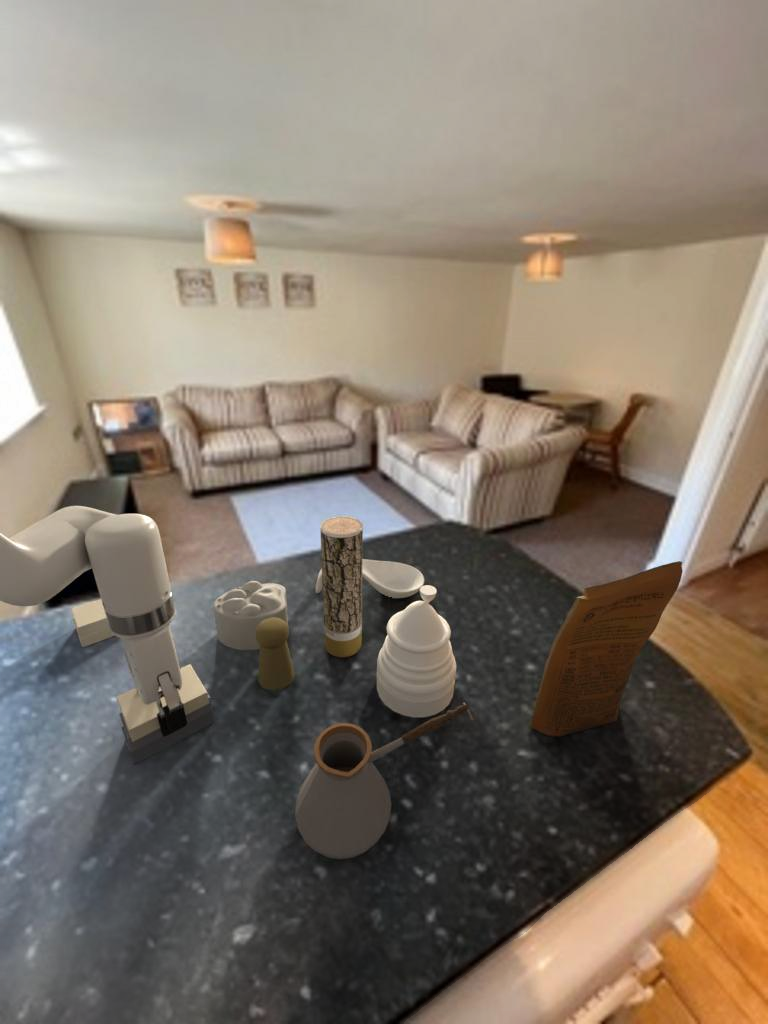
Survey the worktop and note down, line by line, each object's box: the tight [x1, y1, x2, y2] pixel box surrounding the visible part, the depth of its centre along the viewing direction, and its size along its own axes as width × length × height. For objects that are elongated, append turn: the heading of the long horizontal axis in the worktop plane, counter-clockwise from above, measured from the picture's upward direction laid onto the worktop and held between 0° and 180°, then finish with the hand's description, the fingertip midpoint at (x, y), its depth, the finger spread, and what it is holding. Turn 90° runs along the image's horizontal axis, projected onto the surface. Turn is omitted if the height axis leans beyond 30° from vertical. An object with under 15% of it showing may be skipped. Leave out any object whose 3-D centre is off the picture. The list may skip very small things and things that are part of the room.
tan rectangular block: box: [70, 598, 115, 648], centre depth 85 cm, size 10×7×4 cm
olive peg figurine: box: [255, 618, 296, 691], centre depth 73 cm, size 6×6×11 cm
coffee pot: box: [294, 702, 474, 860], centre depth 53 cm, size 21×12×15 cm, turn 106°
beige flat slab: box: [116, 663, 209, 742], centre depth 63 cm, size 10×7×2 cm
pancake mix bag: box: [528, 560, 684, 738], centre depth 63 cm, size 7×19×28 cm, turn 106°
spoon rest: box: [315, 558, 425, 599], centre depth 97 cm, size 24×12×7 cm, turn 91°
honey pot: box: [376, 584, 457, 718], centre depth 71 cm, size 13×13×18 cm
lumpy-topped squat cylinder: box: [212, 580, 290, 651], centre depth 84 cm, size 10×13×9 cm
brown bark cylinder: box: [319, 515, 364, 658], centre depth 77 cm, size 7×7×25 cm
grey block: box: [119, 692, 215, 765], centre depth 64 cm, size 11×5×5 cm, turn 130°
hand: (166, 710), depth 64 cm, fingers closed on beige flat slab, 7 cm apart
